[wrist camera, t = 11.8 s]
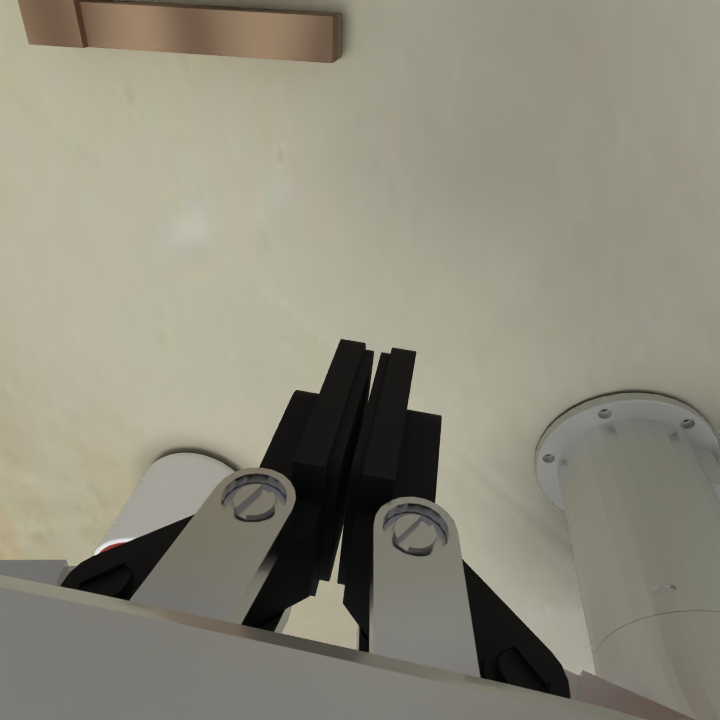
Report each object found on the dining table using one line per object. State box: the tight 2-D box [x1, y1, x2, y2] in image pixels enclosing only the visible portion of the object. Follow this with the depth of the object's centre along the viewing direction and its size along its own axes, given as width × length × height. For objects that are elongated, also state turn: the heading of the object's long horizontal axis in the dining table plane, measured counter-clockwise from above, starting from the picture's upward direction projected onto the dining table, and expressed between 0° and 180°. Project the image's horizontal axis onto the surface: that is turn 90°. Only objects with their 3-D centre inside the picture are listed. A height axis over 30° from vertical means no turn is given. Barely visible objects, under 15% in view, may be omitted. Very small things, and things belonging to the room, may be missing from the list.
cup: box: [93, 453, 235, 556], centre depth 48 cm, size 10×10×10 cm
